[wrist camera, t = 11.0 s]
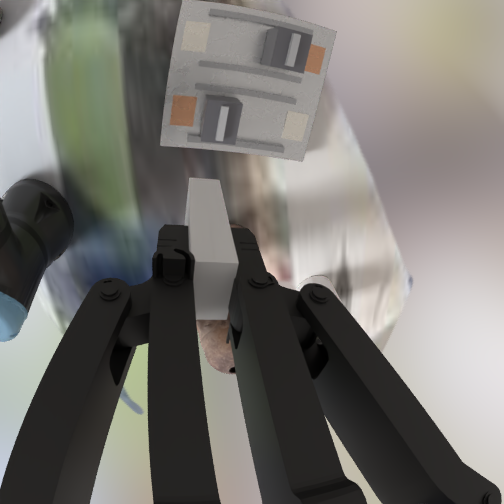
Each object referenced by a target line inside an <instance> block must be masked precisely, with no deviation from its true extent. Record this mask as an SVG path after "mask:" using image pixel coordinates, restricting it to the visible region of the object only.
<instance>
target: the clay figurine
mask: <svg viewBox="0 0 504 504" xmlns="http://www.w3.org/2000/svg"><path fill="white" fill-rule="evenodd" d="M230 227H232V228H243V227H242V226H240V225H236V224H232V225H230ZM196 324H197V330H198V333H199V337H200V340H201V341H200V343H201V345H202V348H203V350H204V352H205V355H206V358H207V361H208V362H209V364H210V365H211V366H212V367H214V368H215V369H216V370H218V371H220V372H223V373H226V374H236V370H235V365H234V359H233V353H232V348H231V342H230V340H229V344H226V338H227V333H228V329H229V324H230V315H229V312H228V317H227V320H198V319H196Z"/></svg>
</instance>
